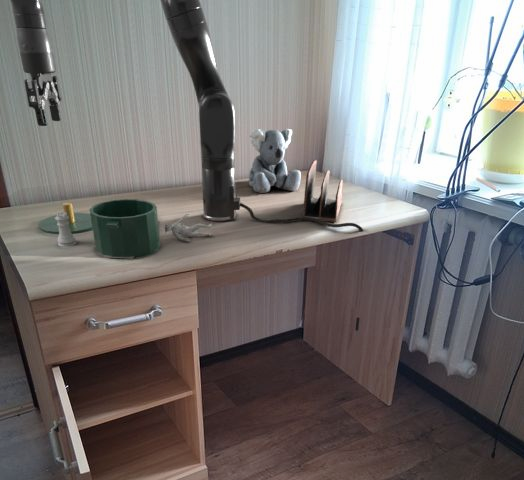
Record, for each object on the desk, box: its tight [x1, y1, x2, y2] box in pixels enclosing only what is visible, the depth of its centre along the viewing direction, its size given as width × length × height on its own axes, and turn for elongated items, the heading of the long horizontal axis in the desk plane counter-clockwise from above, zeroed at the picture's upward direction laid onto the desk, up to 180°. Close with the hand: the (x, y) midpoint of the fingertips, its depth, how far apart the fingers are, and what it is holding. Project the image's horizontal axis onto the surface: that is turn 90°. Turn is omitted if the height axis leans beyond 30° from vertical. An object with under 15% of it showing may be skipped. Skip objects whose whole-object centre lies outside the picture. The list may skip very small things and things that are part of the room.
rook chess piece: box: [55, 211, 77, 247], centre depth 127 cm, size 4×4×8 cm
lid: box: [38, 202, 93, 235], centre depth 140 cm, size 17×17×6 cm
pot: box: [88, 198, 161, 260], centre depth 125 cm, size 16×21×10 cm
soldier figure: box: [164, 213, 213, 242], centre depth 134 cm, size 8×5×12 cm
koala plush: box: [248, 127, 302, 194], centre depth 175 cm, size 17×18×20 cm
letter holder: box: [302, 159, 344, 223], centre depth 153 cm, size 10×20×14 cm, turn 168°
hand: (50, 123), depth 131 cm, fingers open, 8 cm apart
